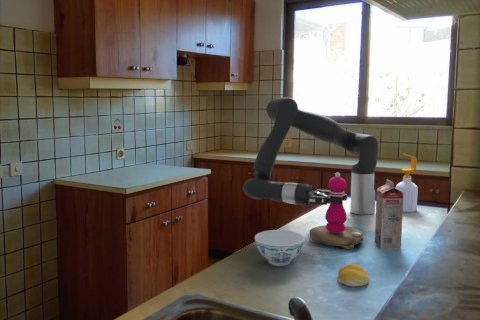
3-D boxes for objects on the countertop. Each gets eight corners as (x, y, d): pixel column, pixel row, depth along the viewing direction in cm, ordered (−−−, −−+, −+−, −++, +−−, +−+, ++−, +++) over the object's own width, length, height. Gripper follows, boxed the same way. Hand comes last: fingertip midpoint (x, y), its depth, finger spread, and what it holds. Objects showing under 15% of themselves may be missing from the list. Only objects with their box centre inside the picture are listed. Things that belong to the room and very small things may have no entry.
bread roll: (337, 286, 122) (337, 272, 121) (338, 273, 130) (338, 260, 130) (369, 289, 120) (369, 274, 119) (368, 276, 128) (368, 262, 128)
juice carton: (380, 248, 150) (383, 183, 146) (374, 242, 156) (377, 179, 153) (400, 248, 150) (404, 182, 146) (393, 242, 156) (396, 179, 153)
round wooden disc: (340, 230, 169) (340, 220, 168) (374, 245, 153) (374, 234, 152) (299, 237, 162) (299, 227, 161) (329, 253, 145) (330, 242, 145)
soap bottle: (391, 207, 202) (393, 152, 198) (410, 206, 203) (413, 152, 199) (400, 212, 193) (403, 155, 190) (420, 212, 194) (423, 155, 191)
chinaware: (247, 267, 135) (247, 242, 133) (263, 250, 148) (263, 227, 147) (297, 274, 129) (297, 248, 128) (309, 256, 143) (309, 232, 142)
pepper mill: (344, 226, 160) (347, 170, 157) (347, 233, 153) (350, 174, 150) (324, 226, 161) (325, 170, 157) (325, 232, 154) (327, 174, 150)
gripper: (289, 187, 155) (339, 192, 147) (304, 179, 167) (350, 184, 159) (289, 208, 156) (338, 215, 148) (303, 199, 168) (349, 205, 161)
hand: (344, 199), depth 154 cm, fingers closed on pepper mill, 5 cm apart
